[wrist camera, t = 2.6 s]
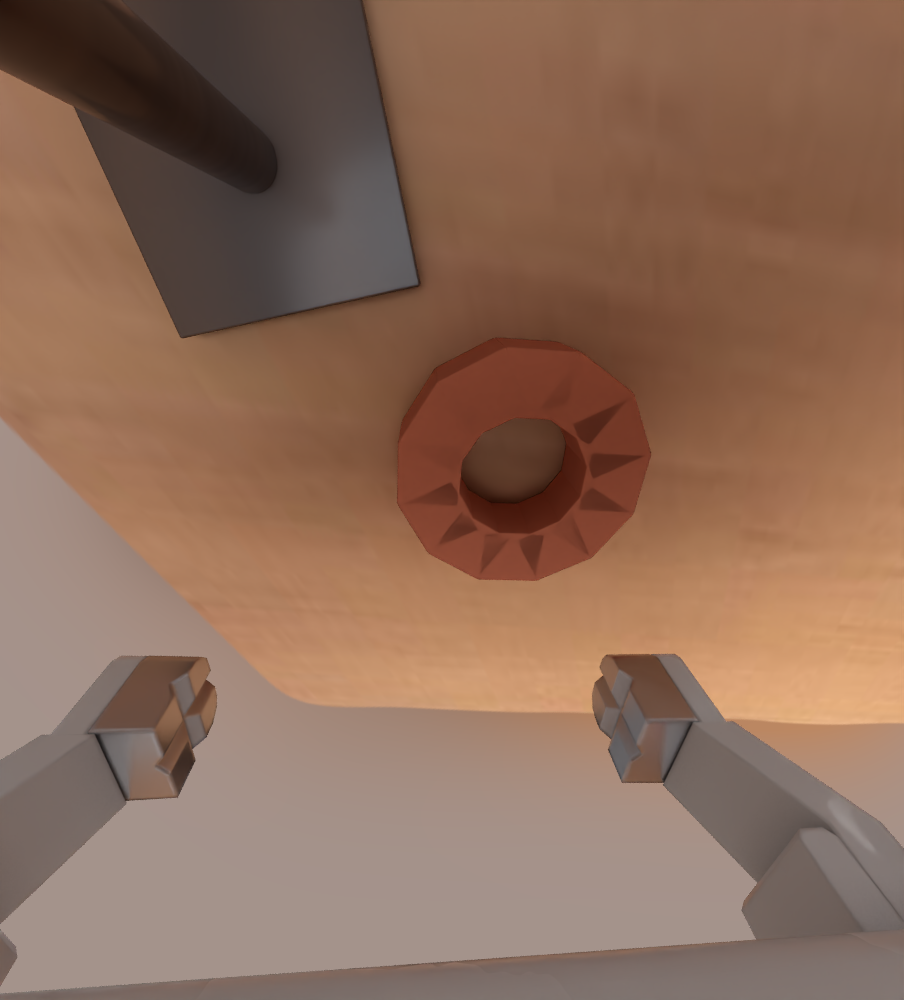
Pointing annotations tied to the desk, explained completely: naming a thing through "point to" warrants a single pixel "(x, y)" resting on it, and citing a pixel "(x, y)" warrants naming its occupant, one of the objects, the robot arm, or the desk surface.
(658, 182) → the desk surface
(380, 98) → the peg on square base
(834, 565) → the desk surface
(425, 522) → the ring
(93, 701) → the robot arm
